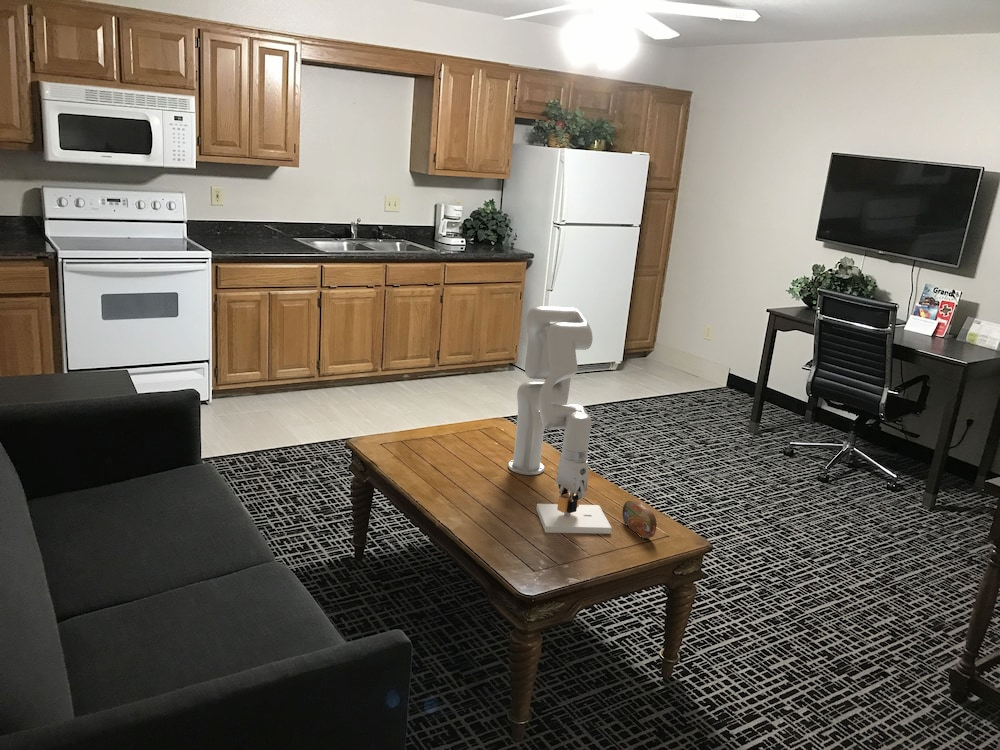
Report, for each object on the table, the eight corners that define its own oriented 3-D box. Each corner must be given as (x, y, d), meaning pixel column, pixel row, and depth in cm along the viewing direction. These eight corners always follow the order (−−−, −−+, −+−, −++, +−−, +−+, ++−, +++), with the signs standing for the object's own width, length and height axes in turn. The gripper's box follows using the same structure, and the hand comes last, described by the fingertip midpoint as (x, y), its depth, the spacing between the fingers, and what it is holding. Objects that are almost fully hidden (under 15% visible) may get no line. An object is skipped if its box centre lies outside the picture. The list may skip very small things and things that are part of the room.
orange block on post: (572, 504, 247) (574, 490, 246) (578, 507, 245) (580, 493, 244) (557, 509, 242) (558, 495, 241) (563, 512, 241) (565, 498, 239)
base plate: (536, 509, 251) (537, 497, 250) (598, 510, 254) (599, 499, 253) (545, 532, 237) (546, 520, 236) (610, 533, 240) (612, 521, 239)
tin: (620, 520, 249) (623, 495, 247) (628, 519, 250) (632, 494, 248) (646, 543, 236) (651, 518, 233) (655, 542, 237) (660, 516, 235)
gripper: (601, 461, 234) (594, 518, 239) (567, 442, 247) (561, 496, 252) (581, 465, 230) (574, 523, 235) (548, 445, 243) (541, 500, 248)
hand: (567, 508), depth 244 cm, fingers closed on orange block on post, 3 cm apart
